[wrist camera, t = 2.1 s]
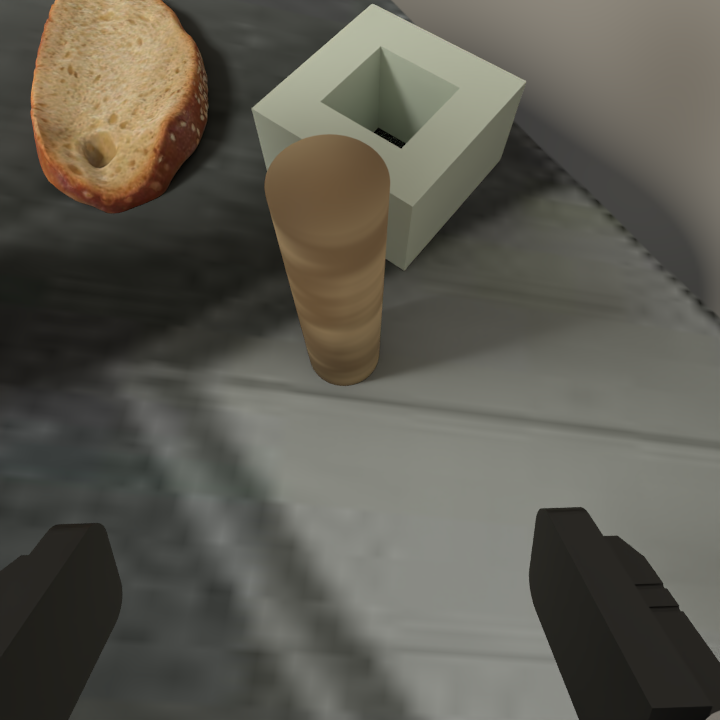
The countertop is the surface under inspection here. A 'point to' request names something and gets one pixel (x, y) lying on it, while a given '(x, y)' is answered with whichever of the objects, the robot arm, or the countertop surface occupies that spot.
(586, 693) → the robot arm
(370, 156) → the dowel
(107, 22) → the slice of bread
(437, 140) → the holder
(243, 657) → the countertop surface
